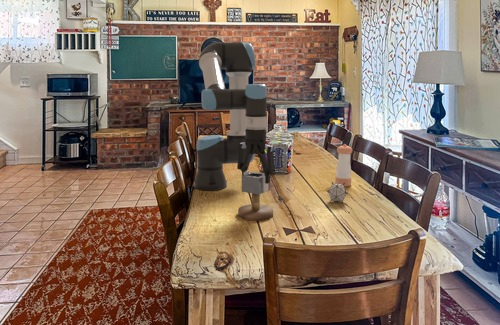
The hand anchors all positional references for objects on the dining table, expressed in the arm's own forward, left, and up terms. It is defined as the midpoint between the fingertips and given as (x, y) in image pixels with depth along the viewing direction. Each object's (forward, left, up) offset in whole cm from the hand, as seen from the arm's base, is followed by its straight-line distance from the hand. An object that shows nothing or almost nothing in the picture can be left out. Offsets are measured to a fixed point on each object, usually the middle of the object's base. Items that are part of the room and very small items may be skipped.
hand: (255, 190), depth 157 cm
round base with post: (0, 0, -10) cm, 10 cm away
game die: (+19, +32, -10) cm, 39 cm away
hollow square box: (0, 0, 0) cm, 0 cm away
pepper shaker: (+11, +59, -10) cm, 61 cm away
